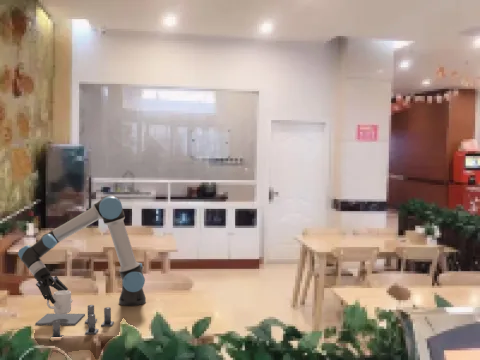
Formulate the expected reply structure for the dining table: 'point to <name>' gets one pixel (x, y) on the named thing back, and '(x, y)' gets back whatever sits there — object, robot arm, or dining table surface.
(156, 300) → the dining table surface
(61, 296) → the cup
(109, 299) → the dining table surface
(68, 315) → the mat
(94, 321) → the posts
